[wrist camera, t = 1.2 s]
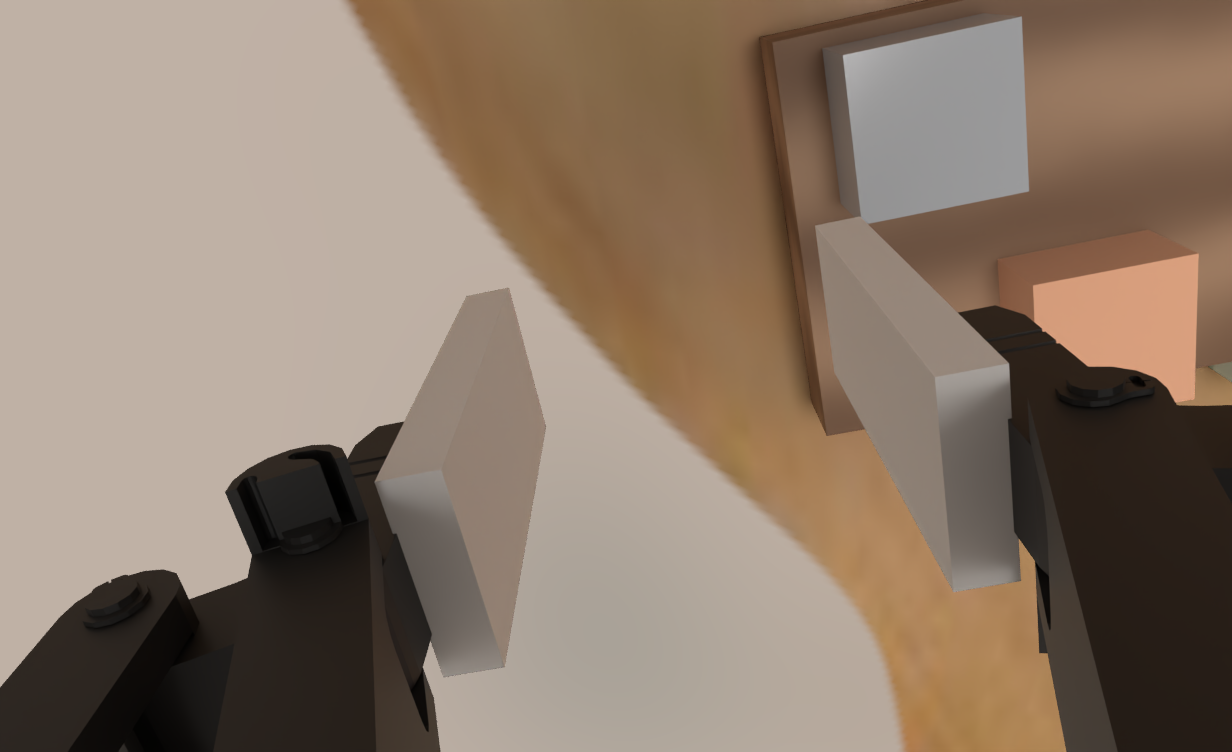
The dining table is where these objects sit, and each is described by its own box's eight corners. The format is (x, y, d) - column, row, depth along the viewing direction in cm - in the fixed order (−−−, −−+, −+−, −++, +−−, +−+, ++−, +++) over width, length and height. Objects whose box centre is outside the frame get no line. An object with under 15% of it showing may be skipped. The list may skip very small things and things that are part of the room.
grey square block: (822, 48, 29) (842, 55, 27) (983, 13, 29) (1021, 16, 26) (841, 203, 31) (861, 224, 29) (992, 172, 31) (1029, 191, 28)
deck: (759, 37, 32) (772, 42, 29) (1212, -63, 31) (1270, -68, 28) (811, 402, 37) (826, 435, 35) (1200, 329, 36) (1248, 358, 33)
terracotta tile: (997, 259, 32) (1032, 285, 29) (1148, 229, 32) (1198, 253, 29) (1004, 390, 34) (1038, 426, 31) (1147, 364, 33) (1194, 398, 31)
